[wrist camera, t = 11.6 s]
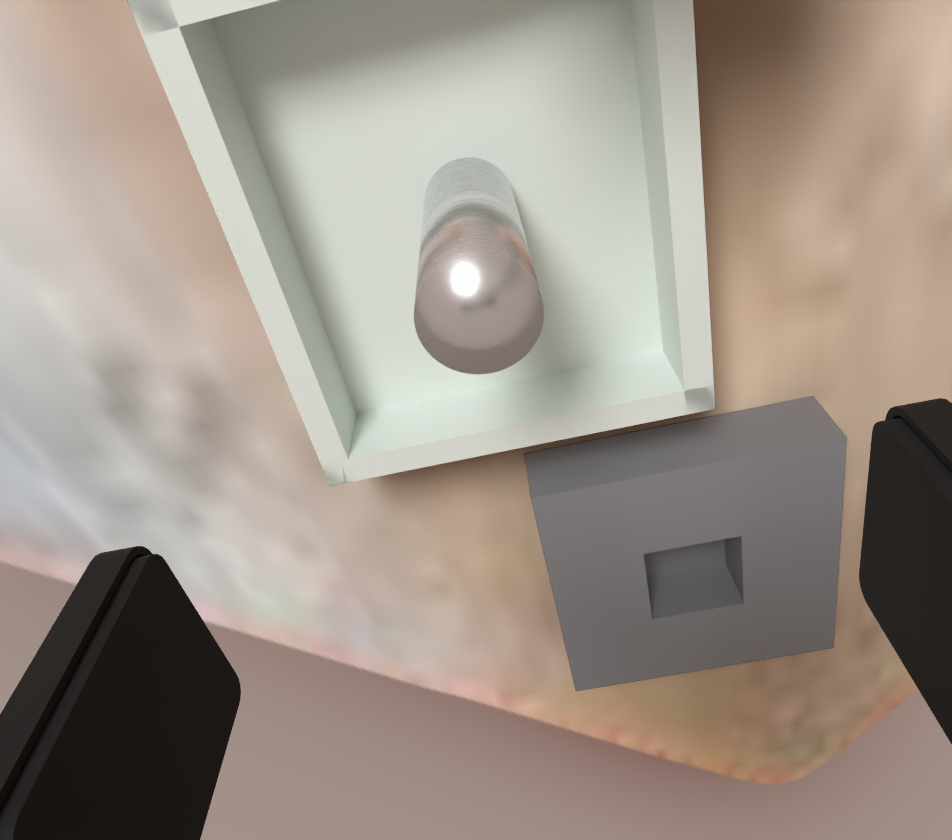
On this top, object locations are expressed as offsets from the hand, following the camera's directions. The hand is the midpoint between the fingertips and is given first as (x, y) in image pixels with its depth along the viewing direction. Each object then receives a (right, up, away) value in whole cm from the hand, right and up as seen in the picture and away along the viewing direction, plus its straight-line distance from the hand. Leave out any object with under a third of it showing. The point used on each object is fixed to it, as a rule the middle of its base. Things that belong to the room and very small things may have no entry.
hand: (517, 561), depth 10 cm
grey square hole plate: (+9, -3, +24) cm, 26 cm away
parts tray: (-1, +9, +15) cm, 18 cm away
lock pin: (-1, +9, +15) cm, 17 cm away
